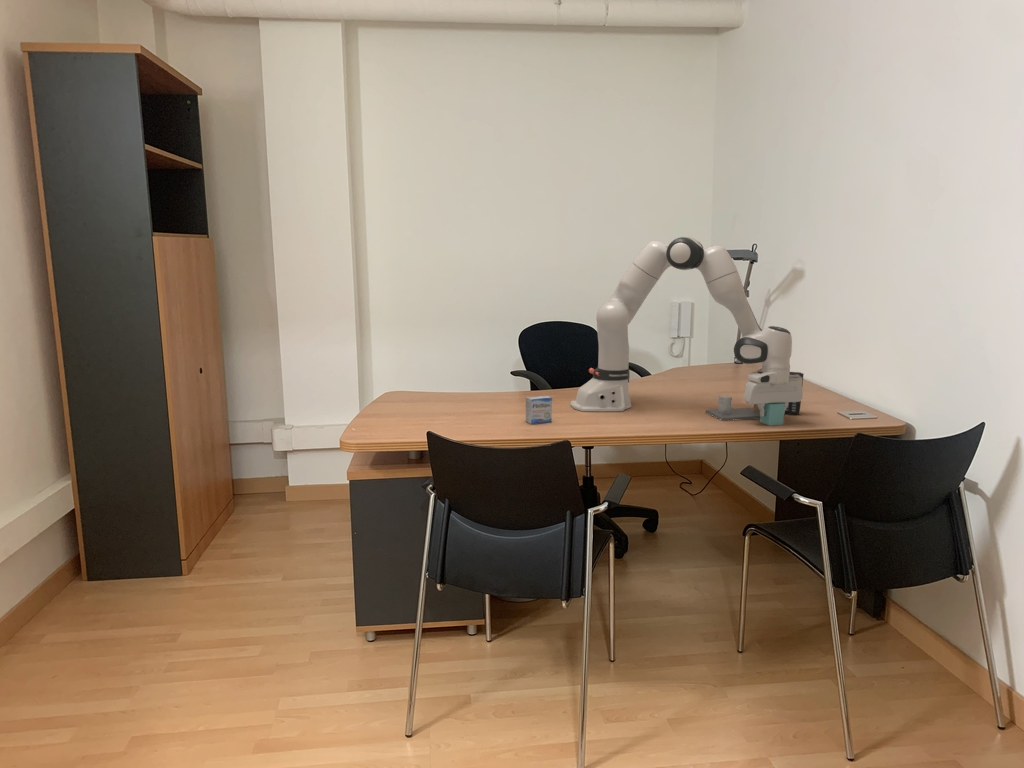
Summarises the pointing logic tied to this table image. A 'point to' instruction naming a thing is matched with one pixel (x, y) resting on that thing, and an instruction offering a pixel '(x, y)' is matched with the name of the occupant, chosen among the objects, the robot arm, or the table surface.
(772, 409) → the teal block
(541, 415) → the medicine box
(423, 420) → the table surface
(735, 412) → the post board
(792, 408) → the card reader
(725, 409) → the metal post
